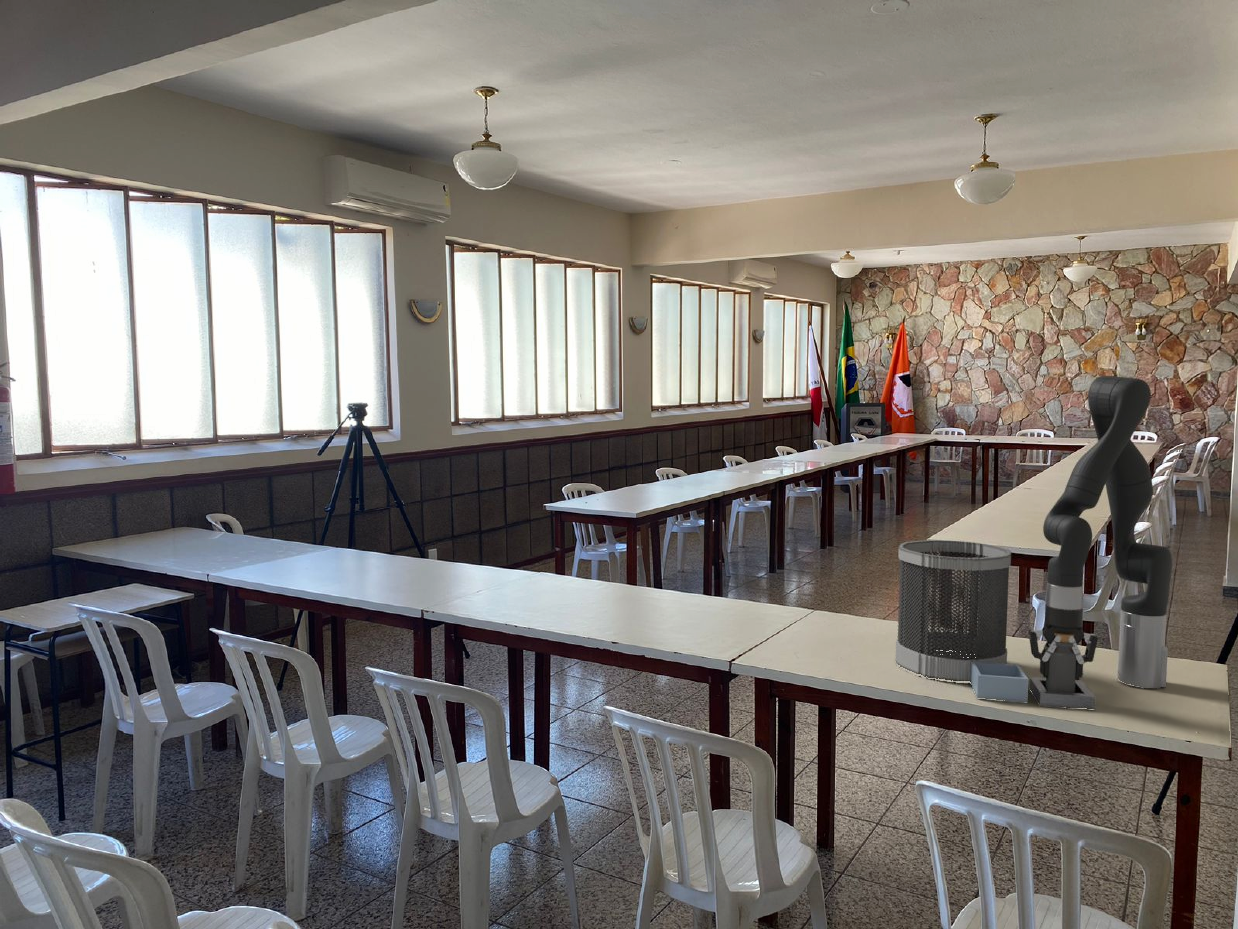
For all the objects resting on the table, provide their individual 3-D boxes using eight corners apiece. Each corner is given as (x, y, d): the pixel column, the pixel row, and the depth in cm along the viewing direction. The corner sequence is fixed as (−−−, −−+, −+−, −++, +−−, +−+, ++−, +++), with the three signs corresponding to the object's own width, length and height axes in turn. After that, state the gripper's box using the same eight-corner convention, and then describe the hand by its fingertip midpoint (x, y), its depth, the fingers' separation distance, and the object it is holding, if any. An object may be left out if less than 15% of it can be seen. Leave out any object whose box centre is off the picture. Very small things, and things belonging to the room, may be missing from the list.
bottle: (1079, 699, 196) (1083, 633, 195) (1064, 704, 193) (1068, 637, 192) (1054, 692, 201) (1058, 627, 200) (1039, 696, 198) (1042, 631, 197)
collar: (1081, 693, 201) (1081, 681, 201) (1094, 710, 191) (1095, 697, 190) (1029, 689, 204) (1029, 677, 204) (1039, 706, 193) (1040, 692, 193)
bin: (1017, 688, 205) (1018, 665, 205) (1027, 703, 195) (1028, 679, 194) (970, 684, 207) (971, 661, 207) (977, 699, 197) (978, 675, 197)
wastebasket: (954, 648, 237) (958, 538, 235) (1028, 676, 214) (1033, 554, 211) (876, 658, 228) (879, 543, 226) (945, 688, 205) (949, 561, 202)
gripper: (1032, 606, 194) (1029, 680, 195) (1104, 610, 190) (1101, 686, 192) (1025, 598, 201) (1022, 670, 202) (1095, 602, 198) (1091, 675, 199)
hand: (1060, 677), depth 197 cm, fingers closed on bottle, 5 cm apart
